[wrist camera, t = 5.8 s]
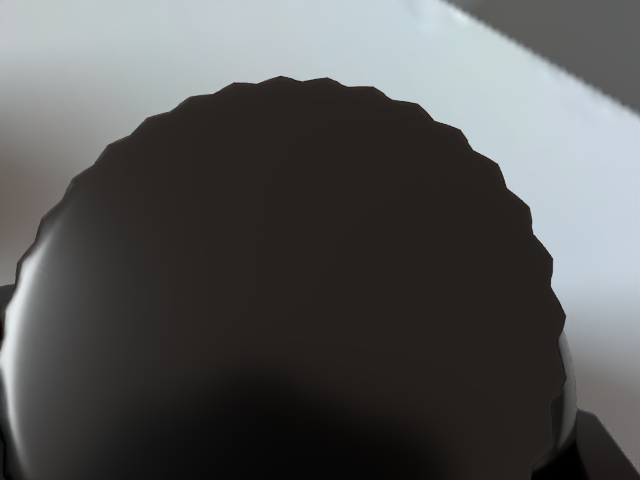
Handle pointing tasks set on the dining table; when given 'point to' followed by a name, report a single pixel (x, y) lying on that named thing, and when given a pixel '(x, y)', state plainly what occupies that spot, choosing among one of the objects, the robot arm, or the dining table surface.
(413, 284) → the supplement bottle
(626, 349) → the dining table surface
